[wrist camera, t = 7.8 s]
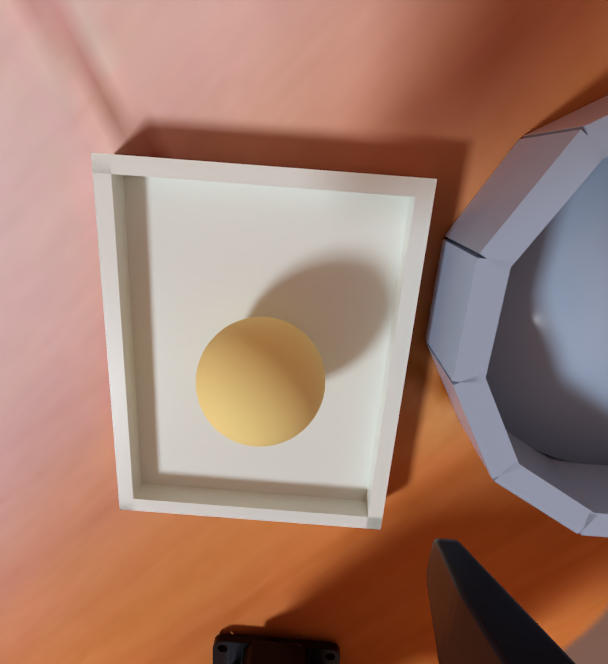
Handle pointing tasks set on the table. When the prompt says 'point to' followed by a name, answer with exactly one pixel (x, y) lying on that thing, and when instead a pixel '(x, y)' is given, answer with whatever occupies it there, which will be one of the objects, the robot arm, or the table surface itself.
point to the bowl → (534, 320)
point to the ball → (260, 381)
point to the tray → (257, 301)
